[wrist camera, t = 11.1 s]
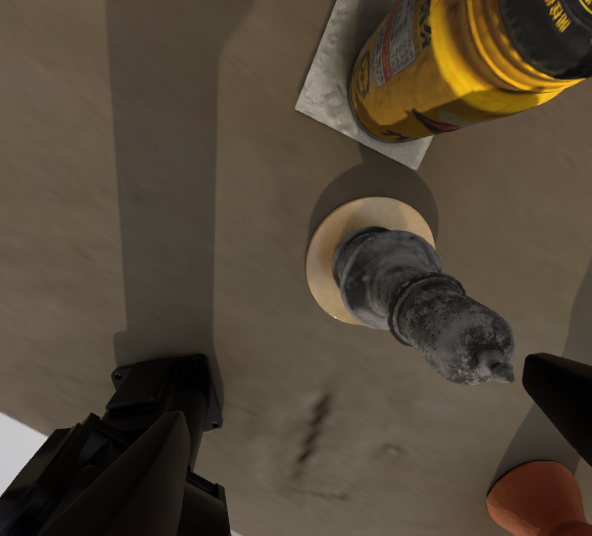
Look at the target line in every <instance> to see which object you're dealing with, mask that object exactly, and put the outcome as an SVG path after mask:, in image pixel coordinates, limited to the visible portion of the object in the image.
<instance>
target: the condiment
mask: <svg viewBox="0 0 592 536" xmlns="http://www.w3.org/2000/svg"><path fill="white" fill-rule="evenodd" d="M591 77H592V0H337V1H336V4H335V6H334V9H333V11H332V14H331V17H330V19H329V21H328V24H327V27H326V30H325V32H324V35H323V37H322V40H321V42H320V45H319V47H318V50H317V53H316V55H315V58H314V60H313V63H312V65H311V68H310V71H309V73H308V76H307V78H306V81H305V83H304V86H303V89H302V91H301V94H300V96H299V99H298V102H297V104H296V107H295V109H296V110H298V111H300V112H302V113H304V114H306V115H308V116H310V117H312V118H313V119H315V120H317V121H319V122H322V123H324V124H326V125H328V126H329V127H332V128H334V129H335V130H337V131H339V132H341V133H343V134H345V135H347V136H349V137H351V138H353V139H355V140H356V141H358V142H360V143H362V144H364V145H366V146H368V147H370V148H372V149H374V150H376V151H378V152H380V153H382V154H384V155H386V156H388V157H390V158H392V159H394V160H396V161H398V162H400V163H401V164H404V165H406V166H408V167H410V168H412V169H414V170H416V171H417V169H418V167H419V164H420V163H421V161H422V159H423V157H424V155H425V153H426V150H427V148H428V147H429V145H430V142H431V140H432V138H433V136H434V135H437V134H440V133H443V132H450V131H454V130H457V129H460V128H463V127H467V126H470V125H473V124H478V123H481V122H485V121H490V120H494V119H497V118H502V117H507V116H511V115H514V114H516V113H519V112H522V111H525V110H527V109H530V108H533V107H536V106H538V105H539V104H542V103H544V102H546V101H548V100H549V99H551V98H553V97H555V96H556V95H557V94H559V93H560V92H561V91H562V90H564V89H565V88H567V87H570V86H572V85H574V84H576V83H578V82H580V81H582V80H584V79H588V78H591Z"/></svg>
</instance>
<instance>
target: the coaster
mask: <svg viewBox="0 0 592 536" xmlns="http://www.w3.org/2000/svg"><path fill="white" fill-rule="evenodd" d="M369 226H378V227H384V228H386V229H389V230H391V231H392V230H400V231H409V232H412V233H414V234H416V235H419V236H421V237H423V238H424V239H425V240H426V241H427V242H429V243H430V244H431V245H432V246H433V248H434V250H435V243H434V238H433V236H432V233H431V230H430V228H429V226H428V224H427V223H426V221H425V220H424V218H423V217H422V216H421V215H420V214H419V213H418V212H417V211H416V210H415V209H413V208H412V207H411V206H409V205H407V204H405V203H404V202H401V201H399V200H396V199H392V198H387V197H378V196H373V197H364V198H359V199H355V200H353V201H350V202H347V203H346V204H344V205H342V206H340V207H338V208H337V209H335V210H334V211H333V212H331V213H330V214H329V215H328V216H327V217H326V218H325V219H324V220H323V221H322V222H321V223H320V225H319V226H318V228H317V229H316V231H315V232H314V234H313V236H312V238H311V240H310V243H309V246H308V249H307V254H306V261H305V271H306V278H307V282H308V285H309V288H310V290H311V292H312V294H313V296H314V298H315V300H316V301H317V302H318V304H319V305H320V306H321V307H322V308H323V309H324V310H325V311H326V312H327V313H329V314H330V315H332V316H333V317H335V318H337V319H339V320H341V321H344V322H347V323H351V324H358V325H363V324H361V323H360V322H358V321H357V320H355V319H354V318H353V317H352V316H351V315H350V313H349V312H348V311H347V310H346V308H345V306H344V303H343V301H342V298H341V293H340V289H339V288H338V287H337V285H336V283H335V281H334V278H333V275H332V261H333V256H334V254H335V251H336V249H337V247H338V246H339V244H340V243H341V242H342V240H343V239H344V238H345V237H347V236H348V235H349V234H350V233H352V232H353V231H356V230H358V229H360V228H363V227H369Z"/></svg>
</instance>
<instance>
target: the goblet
mask: <svg viewBox="0 0 592 536" xmlns="http://www.w3.org/2000/svg"><path fill="white" fill-rule="evenodd" d="M486 502H487V506H488V511H489V514H490V516H491V517H492V518H493V519H494V521H495V522H496V523H497V524H498V525H500V526H501V527H503V528H504V529H506V530H508V531H509V532H511V533H512V534H514V535H516V536H592V525H590V524H588V523H587V521H586V518H585V516H584V511H583V504H582V497H581V492H580V489H579V486H578V483H577V481H576V480H575V478H574V477H573V475H572V474H571V472H570V471H569V470H568V469H567V468H566V467H564V466H563V465H561V464H559V463H557V462H553V461H534V462H530V463H526V464H522V465H520V466H518V467H517V468H515V469H513V470H511V471H510V472H508V473H507V474H506V475H505V476H503V477H502V478H501V479H500V480H499V481H498V482H497V483H496V484H495V485H494V486H493V488H492V490H491V492H490V494H489V496H488V497H487V499H486Z"/></svg>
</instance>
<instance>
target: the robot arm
mask: <svg viewBox="0 0 592 536" xmlns="http://www.w3.org/2000/svg"><path fill="white" fill-rule="evenodd" d="M198 360H200V361H202V362H203V363H198V362H197V361H198ZM118 374H121V375H122V376H119V375H118ZM111 378H112V381H113V383H114V386H115V389H116V392H115V394H114V395H113V397H112V398H111V399H110V401H109V402H108V404H107V405H106V407H105V408H106V413H105V414H104V416H103V417H102V419H101V420H100V417H99V416H97V415H95V414H93V413H92V412H91V413H90V414H89V415H88V416H87V418H86V419H85V420H84V421H83V422H82V423H81V424H80V423H77V424H76V425H75V426H74V427H72V428H66V429H56V430H55V431H54V432H53V433H52V435H51V436H50V437H49V438H48V439H47V440H46V442H45V443H44V444H43V445H42V446H41V447H40V449H39V450H38V451H37V452H36V453H35V454H34V456H33V457H32V458H31V459H30V460H29V462H28V463H27V464H26V465H25V466H24V468H23V469H22V470H21V472H20V473H19V474H18V475H17V476H16V478H15V479H14V480H13V481H12V483H11V484H10V485H9V487H8V488H7V489H6V490H5V492H4V493H3V494H2V495H1V497H0V536H232V535H231V532H230V525H229V518H228V511H227V503H226V496H225V489H224V487H222V486H221V485H219V484H217V483H216V484H213V483H211V482H209V481H208V480H206V479H204V478H202V477H200V476H199V475H197V474H195V473H193V470H194V466H195V462H196V458H197V454H198V450H199V446H200V442H201V438H202V434H203V433H206V432H211V431H217V430H219V429H221V427H222V423H223V419H222V415H221V411H220V407H219V403H218V399H217V395H216V391H215V387H214V383H213V379H212V375H211V371H210V367H209V363H208V359H207V357H206V356H205V355H203V354H196V355H190V356H184V357H178V358H173V357H169V358H163V359H156V360H150V361H144V362H138V363H136V364H135V365H129V366H123V367H118V368H116V369H115V370H114V371H113V373H112V375H111ZM522 383H523V386H524V388H525V390H526V391H527V393H528V394H529V395H530V396H531V398H532V399H533V400H534V401H535V402H536V404H537V405H538V406H539V407H540V408H541V410H542V411H543V412H544V413H545V415H546V416H547V417H548V418H549V419H550V421H551V422H552V423H553V424H554V425H555V427H556V428H557V429H558V430H559V432H560V433H561V434H562V435H563V436H564V438H565V439H566V440H567V441H568V442H569V443H570V445H571V446H572V447H573V448H574V449H575V450H576V451H577V452H578V453H579V454H580V456H581V457H582V458H583V459H584V460H585V461H586V462H587V463H588V464H589V465H590V466H591V467H592V366H590V365H586V364H583V363H579V362H576V361H572V360H569V359H565V358H562V357H558V356H555V355H552V354H548V353H536V354H530V355H528V356H527V357H526V358H525V363H524V370H523V377H522ZM214 423H218V424H214Z"/></svg>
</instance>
